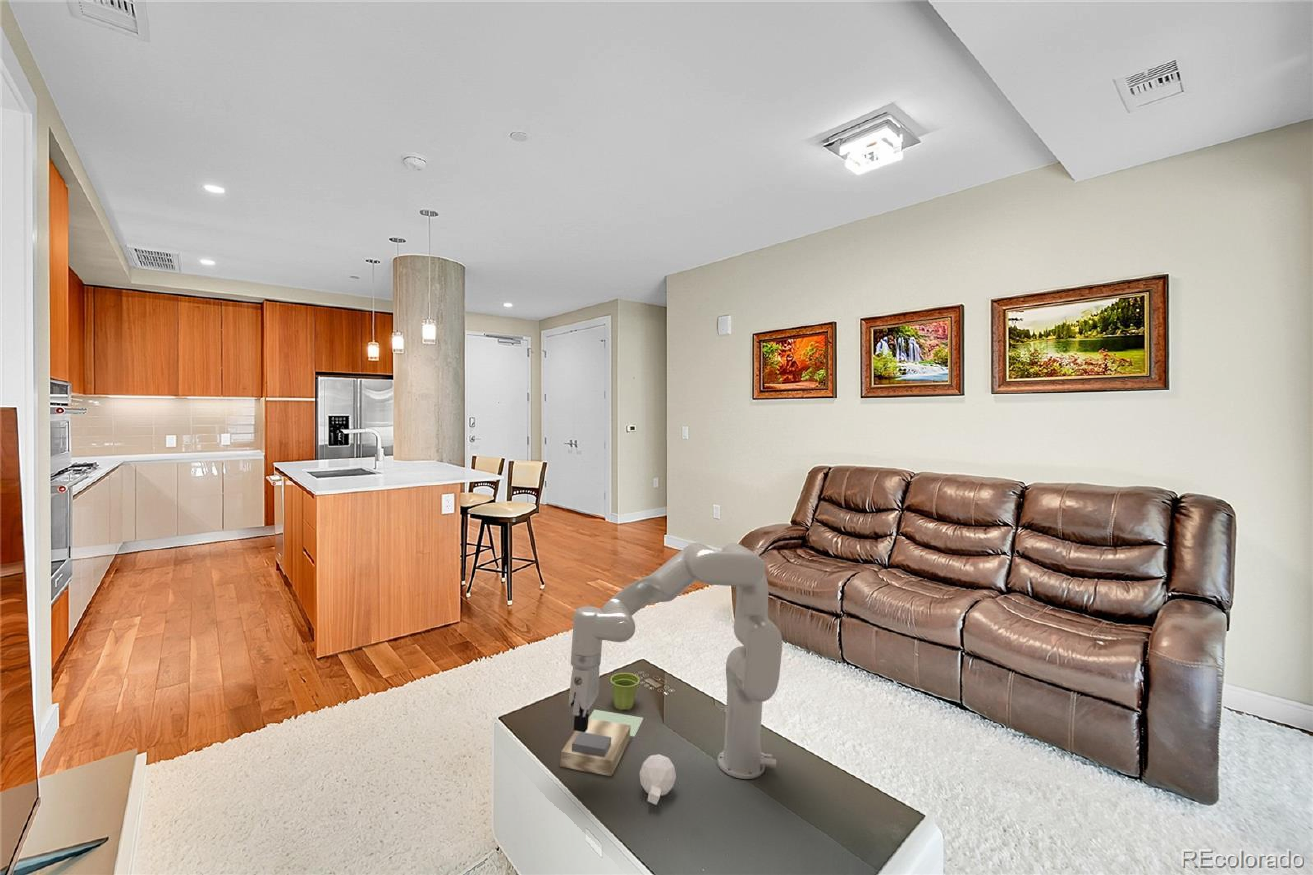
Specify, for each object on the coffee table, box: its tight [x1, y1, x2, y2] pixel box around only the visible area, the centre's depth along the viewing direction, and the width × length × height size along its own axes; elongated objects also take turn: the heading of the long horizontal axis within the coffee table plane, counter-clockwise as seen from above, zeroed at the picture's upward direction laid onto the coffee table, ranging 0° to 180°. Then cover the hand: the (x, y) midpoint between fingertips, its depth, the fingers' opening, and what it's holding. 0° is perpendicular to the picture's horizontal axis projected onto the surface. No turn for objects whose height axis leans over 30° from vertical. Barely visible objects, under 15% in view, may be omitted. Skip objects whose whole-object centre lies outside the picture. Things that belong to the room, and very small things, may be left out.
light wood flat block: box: [560, 718, 631, 777], centre depth 154 cm, size 14×18×4 cm
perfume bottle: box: [639, 753, 677, 805], centre depth 137 cm, size 9×9×12 cm
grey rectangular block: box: [572, 732, 611, 757], centre depth 149 cm, size 9×6×2 cm, turn 77°
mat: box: [589, 709, 644, 738], centre depth 170 cm, size 16×11×1 cm
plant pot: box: [610, 672, 641, 711], centre depth 181 cm, size 9×9×9 cm
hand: (580, 729), depth 141 cm, fingers closed
